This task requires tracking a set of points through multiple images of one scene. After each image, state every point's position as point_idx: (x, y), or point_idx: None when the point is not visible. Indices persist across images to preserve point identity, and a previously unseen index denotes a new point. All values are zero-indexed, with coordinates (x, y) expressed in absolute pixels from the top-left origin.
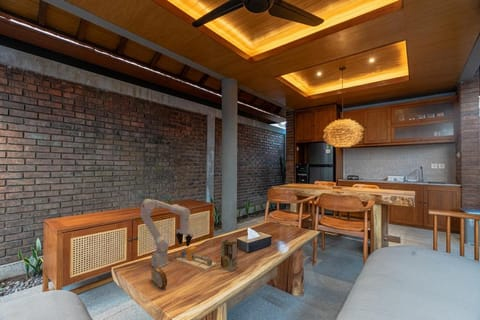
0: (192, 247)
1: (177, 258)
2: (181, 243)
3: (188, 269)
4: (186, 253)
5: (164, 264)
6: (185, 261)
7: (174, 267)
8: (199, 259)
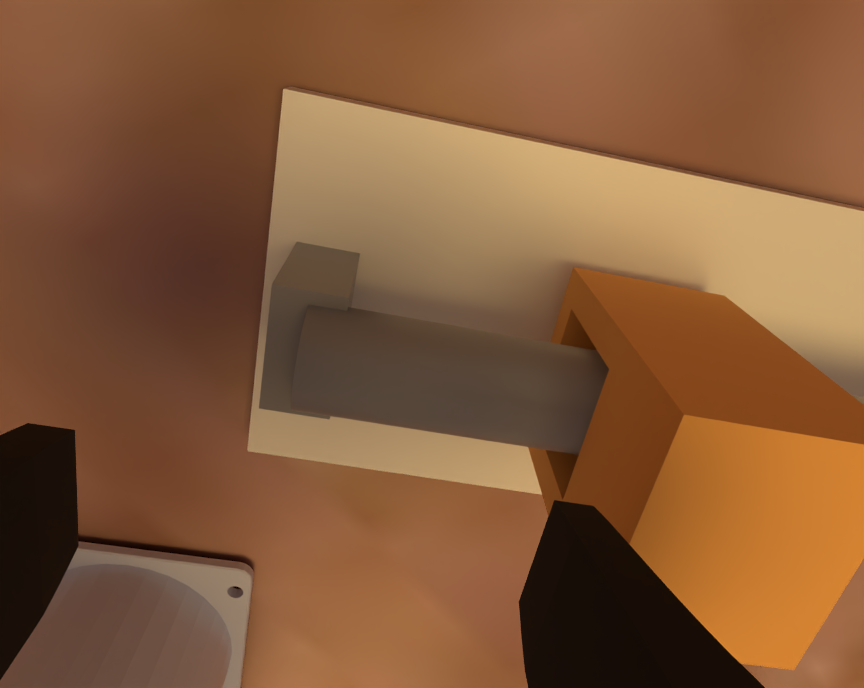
0: (771, 517)
1: (271, 427)
2: (71, 460)
3: None
4: (493, 439)
5: (229, 665)
6: (536, 477)
7: (442, 640)
8: (814, 280)
